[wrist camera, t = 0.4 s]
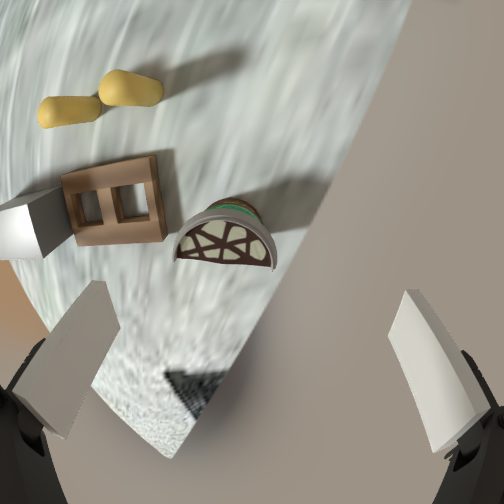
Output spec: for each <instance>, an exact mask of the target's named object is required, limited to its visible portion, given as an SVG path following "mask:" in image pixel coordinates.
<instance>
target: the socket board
mask: <svg viewBox="0 0 504 504" xmlns="http://www.w3.org/2000/svg"><path fill="white" fill-rule="evenodd" d="M61 181H62V186H63V191H64V196H65V200H66V205H67V209H68V213H69V217H70V221H71V224H72V228H73V232H74V235H75V239H76V242H77V245H78V246H94V245H112V244H130V243H149V242H163V241H164V239H165V238H166V237H167V235H168V233H167V227H166V222H165V216H164V210H163V204H162V198H161V191H160V184H159V177H158V170H157V162H156V155H152V156H146V157H140V158H134V159H129V160H123V161H118V162H113V163H108V164H103V165H99V166H94V167H90V168H85V169H81V170H77V171H73V172H69V173H67V174H64V175H62V176H61ZM137 183H144V188H145V194H146V200H147V205H148V211H149V216H137V217H127V218H125V216H124V212H123V207H122V202H121V197H120V191H119V186H123V185H130V184H137ZM93 190H97V195H98V200H99V205H100V209H101V214H102V218H103V220H98V221H89V222H86V220H85V216H84V212H83V208H82V204H81V199H80V195H79V193H82V192H87V191H93Z"/></svg>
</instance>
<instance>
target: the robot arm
mask: <svg viewBox="0 0 504 504" xmlns="http://www.w3.org/2000/svg"><path fill="white" fill-rule="evenodd" d="M119 330H120V325H119V322H118V319H117V316H116V313H115V310H114V307H113V304H112V301H111V298H110V295H109V292H108V288H107V285H106V282H105V281H94V280H92V281H91V282H90V284H89V285H88V286H87V287H86V288H85V289H84V291H83V292H82V293H81V294H80V296H79V297H78V298H77V299H76V300H75V302H74V303H73V304H72V305H71V307H70V308H69V309H68V310H67V312H66V313H65V314H64V316H63V317H62V318H61V320H60V321H59V322H58V323H57V325H56V326H55V327H54V329H53V330H52V332H51V333H50V334H49V336H48V337H47V339H46V338H44V339H42V340H41V341H40V342H39V343H37V344H36V345H35V346H34V347H33V349H32V350H31V352H30V353H29V356H27V357H26V359H25V360H24V363H22V365H21V367H20V368H19V369H18V371H17V372H16V374H15V376H14V377H13V379H12V380H11V382H10V384H9V385H8V387H7V389H6V390H4V389H3V388H2V387H1V385H0V504H68V503H67V501H66V498H65V496H64V493H63V491H62V488H61V485H60V483H59V480H58V477H57V474H56V471H55V468H54V465H53V462H52V458H51V455H50V452H49V448H48V444H47V440H46V436H45V434H44V432H43V431H42V429H43V427H44V426H45V427H46V428H47V429H48V430H49V431H50V432H51V433H52V434H54V435H56V436H58V437H61V438H63V439H65V440H66V439H67V437H68V434H69V432H70V429H71V427H72V425H73V423H74V420H75V418H76V416H77V413H78V411H79V409H80V407H81V405H82V403H83V400H84V398H85V396H86V394H87V392H88V390H89V388H90V386H91V384H92V382H93V380H94V378H95V376H96V374H97V372H98V370H99V368H100V366H101V364H102V362H103V360H104V358H105V356H106V354H107V352H108V350H109V348H110V347H111V345H112V343H113V341H114V339H115V337H116V335H117V334H118V332H119ZM388 337H389V339H390V342H391V344H392V346H393V348H394V351H395V353H396V355H397V357H398V360H399V362H400V364H401V367H402V369H403V371H404V374H405V376H406V379H407V381H408V383H409V386H410V389H411V391H412V394H413V397H414V399H415V402H416V404H417V407H418V410H419V413H420V415H421V418H422V421H423V424H424V427H425V430H426V433H427V436H428V439H429V442H430V445H431V448H432V452H433V453H435V452H438V451H440V450H443V449H445V448H448V447H449V446H450V445H452V444H453V443H454V442H455V441H456V440H457V441H458V445H457V446H456V447H455V448H454V449H452V450H451V451H450V452H449V453H447V454H446V456H445V458H444V459H447V458H448V457H450V456H451V455H452V454H453V456H452V457H451V458H450V459H449V461H450V464H449V466H448V469H447V472H446V474H445V477H444V479H443V481H442V484H441V486H440V488H439V491H438V493H437V495H436V497H435V499H434V501H433V503H432V504H504V406H501V407H499V405H498V404H497V402H496V400H495V398H494V396H493V394H492V392H491V390H490V388H489V386H488V385H487V383H486V381H485V379H484V377H482V374H481V372H480V370H478V367H477V365H476V363H475V362H474V360H473V358H472V357H471V356H469V354H468V353H466V352H465V351H464V350H462V351H460V350H459V348H458V346H457V345H456V343H455V342H454V340H453V338H452V337H451V335H450V334H449V332H448V331H447V329H446V328H445V326H444V324H443V323H442V321H441V320H440V319H439V317H438V316H437V314H436V313H435V311H434V310H433V308H432V307H431V305H430V304H429V303H428V301H427V300H426V298H425V297H424V296H423V294H422V293H421V292H420V290H419V289H417V290H405V293H404V296H403V298H402V301H401V304H400V307H399V309H398V312H397V315H396V318H395V320H394V323H393V325H392V327H391V330H390V332H389V334H388Z"/></svg>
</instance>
